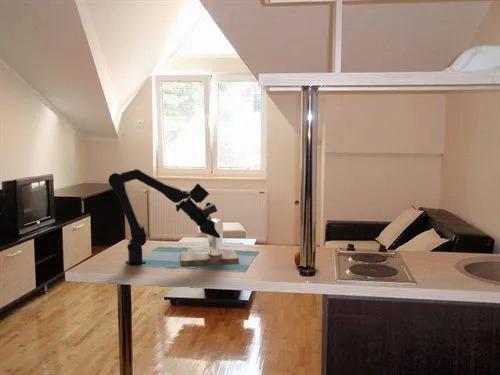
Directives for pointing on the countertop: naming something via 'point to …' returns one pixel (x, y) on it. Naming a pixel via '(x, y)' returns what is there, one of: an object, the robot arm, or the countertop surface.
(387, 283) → the countertop surface
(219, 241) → the beer glass
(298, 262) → the fruit
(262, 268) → the countertop surface
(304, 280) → the countertop surface
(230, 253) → the walnut board
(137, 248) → the robot arm
